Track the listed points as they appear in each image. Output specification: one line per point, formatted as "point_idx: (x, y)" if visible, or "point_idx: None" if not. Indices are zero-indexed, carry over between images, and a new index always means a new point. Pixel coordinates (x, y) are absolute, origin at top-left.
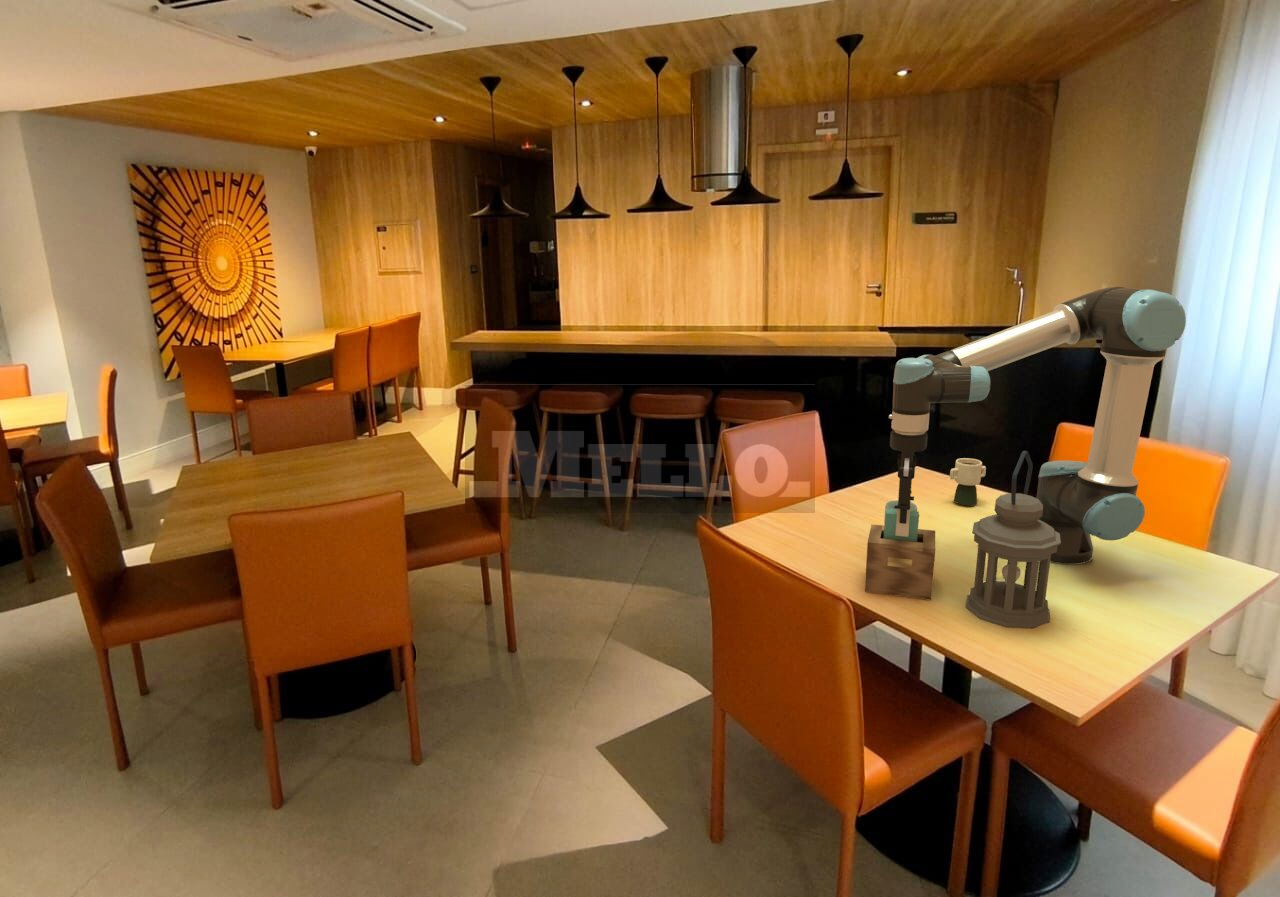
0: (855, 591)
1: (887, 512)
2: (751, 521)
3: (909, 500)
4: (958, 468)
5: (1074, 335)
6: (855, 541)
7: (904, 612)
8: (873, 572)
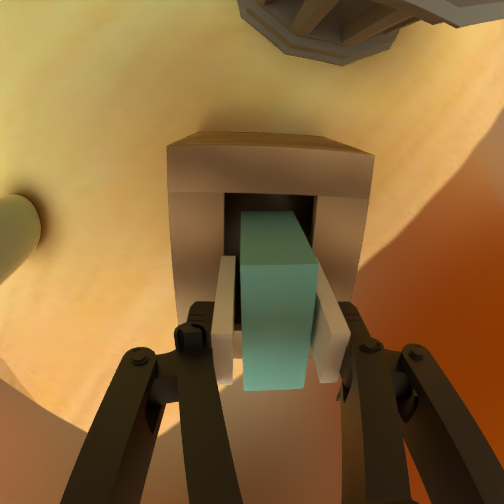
0: None
1: (292, 384)
2: (85, 430)
3: (448, 385)
4: None
5: None
6: (63, 302)
7: (389, 198)
8: None
